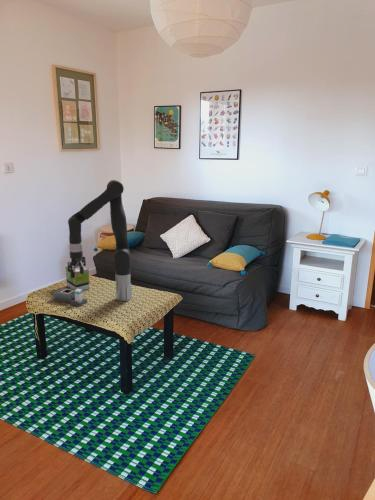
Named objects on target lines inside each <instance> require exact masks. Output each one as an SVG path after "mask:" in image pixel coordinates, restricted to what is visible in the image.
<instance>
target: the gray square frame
mask: <svg viewBox="0 0 375 500" xmlns="http://www.w3.org/2000/svg"><path fill="white" fill-rule="evenodd" d="M87 303H88V299H87V298H83V301H81V302H76V301H75V299H74V300H73V301H71V303H70V306H71V305H72V306H76V307H82V306H84V305H85V304H87Z"/></svg>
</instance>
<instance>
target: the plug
mask: <svg viewBox="0 0 375 500" xmlns="http://www.w3.org/2000/svg"><path fill="white" fill-rule="evenodd" d="M83 292H84V291H82V289H76V290H75V292H74V293H75V301H76V302H81V301H83V299H84V298H83Z"/></svg>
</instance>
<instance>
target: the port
mask: <svg viewBox="0 0 375 500" xmlns="http://www.w3.org/2000/svg"><path fill="white" fill-rule="evenodd" d="M74 292H75V289H71V288H70V287H61V288H58V289H57V290H55V291H53V292H52V297H53V298H52V300H53V301H58V302H61V303H62V302H63V303H65V304H66V303H68V304H71V301H73V300H74V299H75V293H74Z"/></svg>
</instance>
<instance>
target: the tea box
mask: <svg viewBox="0 0 375 500" xmlns="http://www.w3.org/2000/svg"><path fill="white" fill-rule="evenodd" d="M73 267H74V266H73ZM72 270H73V269H72ZM74 272H75V278H71V272H68V265H67V266H65V276H66V277H65V278H66V279H65V280H66V286H67V288H69V289H75V290H76V289H82V292H84V291H88V290H90V271H89V269H88V268H87V267H86V266H84V273H83V274H80V267H79V266H78V267H77V268H76V269H75V271H74Z"/></svg>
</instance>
